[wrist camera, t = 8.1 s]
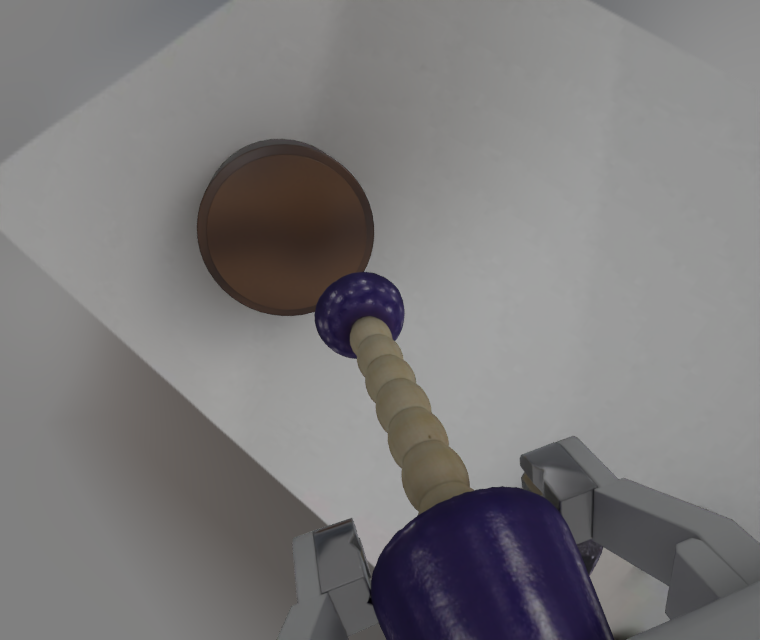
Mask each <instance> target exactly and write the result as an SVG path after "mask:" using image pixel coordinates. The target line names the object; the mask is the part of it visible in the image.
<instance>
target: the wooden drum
mask: <svg viewBox="0 0 760 640" xmlns="http://www.w3.org/2000/svg"><path fill="white" fill-rule="evenodd" d="M197 239H198V244H199V249H200V252H201V255H202V258H203V261H204V263H205V265H206V267H207V269H208V271H209V272H210V274H211V275H212V277H213V278H214V280H215V281H216V282H217V283H218V285H219V286H220V287H221V288H222V289H223V290H224V291H225V292H226V293H228V294H229V295H230V296H231V297H232V298H234V299H235V300H237V301H238V302H240V303H241V304H243V305H245V306H247V307H249V308H251V309H254V310H257V311H260V312H263V313H267V314H271V315H280V316H295V315H304V314H308V313H312V312H315V309H316V304H317V302H318V300H319V298H320V296H321V295H322V294H323V292H324V291H325V290H326V288H327V287H328V286H330V285H331V284H332V283H333V282H335V281H337V280H338V279H340V278H341V277H344V276H345V275H348V274H351V273H357V272H364V270H365V268H366V267H367V264H368V262H369V259H370V256H371V252H372V248H373V241H374V222H373V215H372V211H371V208H370V204H369V202H368V199H367V197H366V195H365V193H364V191H363V189H362V188H361V186H360V184H359V183H358V181H357V180H356V179H355V178H354V176H353V175H352V174H351V173H350V172H349V171H348V170H347V169H346V168H345V167H344V166H343V165H341V164H340V163H339V162H337V161H336V160H335V159H333V158H332V157H330V156H329V155H327V154H326V153H324V152H323V151H321V150H319V149H317V148H315V147H314V146H311V145H308V144H306V143H303V142H299V141H295V140H288V139H270V140H264V141H259V142H256V143H253V144H250V145H248V146H246V147H244V148H242V149H240V150H238V151H237V152H236V153H234V154H233V155H231V156H230V157H229V158H228V159H227V160H226V161H225V162H224V163H223V164H222V165H221V166H220V168H219V169H218V170H217V171H216V173H215V175H214V177H213V178H212V180H211V182H210V184H209V186H208V187H207V189H206V191H205V193H204V196H203V198H202V201H201V204H200V208H199V212H198V219H197Z"/></svg>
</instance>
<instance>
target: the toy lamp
mask: <svg viewBox="0 0 760 640" xmlns="http://www.w3.org/2000/svg"><path fill="white" fill-rule="evenodd" d="M404 314H405V313H404V305H403V300H402V297H401V294H400V292H399V290H398V289H397V288H396V286H395V285H394V284H393V283H392V282H390V281H389V280H388V279H386V278H385V277H383V276H380V275H377V274H375V273H369V272H357V273H351V274H348V275H345V276H344V277H341V278H340V279H338V280H337V281H335V282H333V283H332V284H331V285H330V286H328V287H327V288H326V290H325V291H324V292H323V294H322V295H321V296H320V298H319V300H318V302H317V304H316V309H315V324H316V328H317V331H318V333H319V335H320V337H321V339H322V340H323V341H324V343H325V344H326V345H327V346H328V347H329V348H331V349H332V350H333V351H334V352H336V353H338V354H340V355H342V356H345V357H348V358H354V359H357V363H358V367H359V369H360V371H361V373H362V374H363V376H364V377H365V383H366V388H367V392H368V394H369V396H370V397H371V399H372V400H373V401H374V402H375V403H376V413H377V417H378V420H379V422H380V424H381V426H382V427H383V429H384V430H385V431H386V432H387V433H388V444H389V449H390V452H391V454H392V456H393V458H394V460H395V462H396V463H397V464H398V465H399V466H400V467H401V468H402V483H403V488H404V490H405V493H406V495H407V497H408V499H409V501H410V502H411V504H412V505H413V506H414V508H415V509H416V510H418V511H419V513H418V516H417V517H416V518H414V519H413V520H412V521H410V522H409V523H408V524H407V525H406V526H405V527H404V528H403V529H401V530H399V531H398V532H397V533H396V534H395V535H394V536H393V538H392V539H391V540H390V542H389V543H388V544H387V545H386V546H385V548H384V549H383V551H382V553H381V554H380V556H379V558H378V561H377V564H376V566H375V568H374V571H373V574H372V580H371V599H372V604H373V608H374V612H375V614H376V617H377V619H378V622H379V624H380V627H381V629H382V631H383V633H384V635H385V637H386V639H387V640H614V637H613V635H612V632H611V630H610V627H609V625H608V622H607V620H606V617H605V614H604V612H603V609H602V607H601V604H600V602H599V599H598V597H597V594H596V592H595V589H594V586H593V584H592V582H591V579H590V577H589V574H588V572H587V569H586V567H585V564H584V562H583V559H582V556H581V554H580V551H579V549H578V547H577V544H576V542H575V540H574V537H573V535H572V533H571V531H570V528H569V526H568V524H567V523H566V521H565V519H564V518H563V516H562V515H561V513H560V512H559V511H558V510H557V508H556V507H555V506H554V505H553V504H552V503H551V502H549V501H548V500H547V499H546V498H544V497H542V496H540V495H538V494H536V493H533V492H530V491H527V490H524V489H520V488H517V487H515V488H511V487H503V486H502V487H491V488H488V489H479V490H475V491H474V490H473V489H472V488H470V482H469V476H468V472H467V469H466V467H465V465H464V463H463V461H462V460H461V458H460V457H459V455H458V454H457V453H456V452H455V451H454V450H453V449H451V448H450V447H449V442H448V437H447V434H446V431H445V429H444V427H443V425H442V424H441V422H440V421H439V420H438V418H437V417H436V416H435V415H433V414H432V412H431V405H430V402H429V399H428V397H427V395H426V394H425V392H424V391H423V389H422V388H421V387H420V386H418V385H417V384H416V378H415V375H414V372H413V371H412V369H411V367H410V366H409V364H408V363H407V362H406V361H404V360H403V355H402V352H401V349H400V348H399V346H398V344H397V343H396V342H395V340H396V339H397V338H398V336H399V334H400V332H401V330H402V327H403V322H404Z"/></svg>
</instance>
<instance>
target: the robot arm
mask: <svg viewBox="0 0 760 640" xmlns="http://www.w3.org/2000/svg"><path fill="white" fill-rule="evenodd" d="M520 466H521V467H522V469H523V470H524V471H525V472H524V474H523V475H522V477H521V480H522V487H523V489H524V490H527V491H530V492H533V493H536V494H538V495H540V496H542V497H544V498H546V499H547V500H548V501H549V502H551V503H552V504H553V505H554V506H555V507H556V508H557V510H558V511H559V512H560V513H561V515H562V516H563V518H564V519H565V521H566V523H567V524H568V526H569V528H570V531H571V533H572V535H573V537H574V540H575V542H576V544H579V543H582V542H585V541H587V540H590V539H593V541H594V542H596V543H598V544H599V545H601V546H603V547H604V548H606V549H608V550H609V551H611V552H613V553H614V554H616V555H618V556H619V557H621V558H623V559H624V560H626V561H628V562H629V563H631V564H633V565H634V566H636V567H638V568H639V569H641V570H643V571H645V572H646V573H648V574H650V575H651V576H653V577H655V578H656V579H658V580H660V581H661V582H663V583H665V584H666V585H668V586H669V590H668V596H667V602H666V609H665V613H666V614H667V616H668V617H669V618H670V620H669V621H667V622H665V623H663V624H660V625H658V626H656V627H653V628H651V629H649V630H646V631H644V632H642V633H640V634H637V635H635V636H633V637H630V638H628V639H626V640H760V543H759V542H758V541H756V540H755V539H754V538H753V537H752V536H751V535H749V534H748V533H747V532H746V531H745V530H744V529H743V528H741V527H740V526H739V525H738V524H737V523H736V522H735V521H733V520H732V519H730V518H727V517H724V516H722V515H719V514H717V513H714V512H711V511H709V510H706V509H704V508H701V507H698V506H696V505H693V504H691V503H688V502H685V501H683V500H680V499H678V498H675V497H673V496H670V495H667V494H665V493H662V492H660V491H657V490H654V489H652V488H649V487H647V486H644V485H641V484H639V483H636V482H634V481H631V480H628V479H626V478H622V479H618V478H617V477H616V476H615V475H614V474H613V473H612V472H611V471H610V470H609V469H608V468H607V467H606V466H605V465H604V464H603V463H602V462H601V461H600V460H599V459H598V458H597V457H596V456H595V455H594V454H593V453H592V452H591V451H590V450H589V449H588V448H587V447H586V446H585V445H584V444H583V443H582V442H581V441H580V440H579V439H578V438H577V437H575V436H571V437H568V438H566V439H563V440H560V441H557V442H555V443H554V442H553V443H551V444H548V445H546V446H543V447H540V448H538V449H535V450H533V451H530V452H527V453H525V454H522V455H521V457H520ZM292 546H293V558H294V570H295V581H296V593H297V604H295V605H293V606H291V608H290V610H289V613H288V615H287V617H286V619H285V622H284V624H283V626H282V629H281V631H280V633H279V636H278V638H277V640H349V639H348V636H350V635H353V634H355V633H357V632H360V631H362V630H364V629H367V628H369V627H371V626H373V625H376V624H378V623H379V622H378V619H377V617H376V614H375V612H374V608H373V604H372V599H371V580H370V578H371V575H370V571H369V567H368V563H367V559H366V556H365V552H364V549H363V546H362V543H361V540H360V538H359V537H358V534H357V530H356V526H355V524H354V521H353V519H352V518H350V519H347V520H344V521H341V522H338V523H335V524H332V525H329V526H326V527H323V528H321V529H317V530H314V531H312V532H309V533H306V534H304V535H300V536H297V537H295V538H293V544H292Z"/></svg>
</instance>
